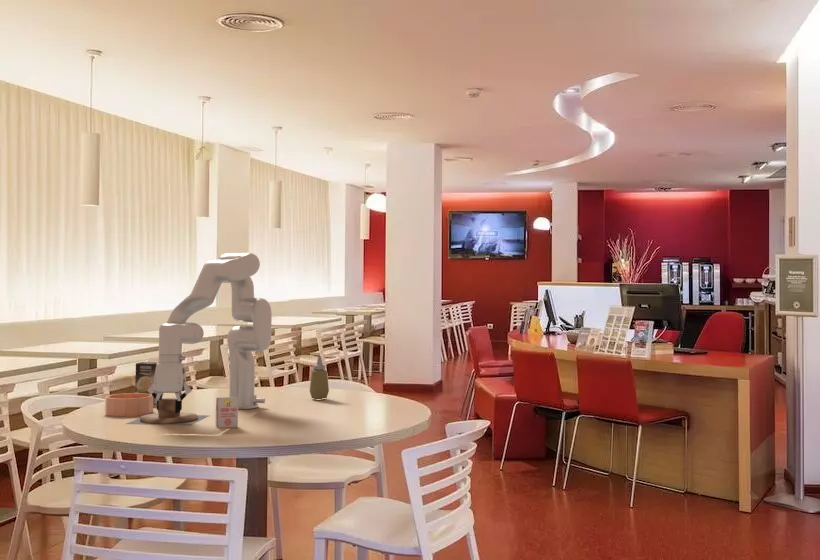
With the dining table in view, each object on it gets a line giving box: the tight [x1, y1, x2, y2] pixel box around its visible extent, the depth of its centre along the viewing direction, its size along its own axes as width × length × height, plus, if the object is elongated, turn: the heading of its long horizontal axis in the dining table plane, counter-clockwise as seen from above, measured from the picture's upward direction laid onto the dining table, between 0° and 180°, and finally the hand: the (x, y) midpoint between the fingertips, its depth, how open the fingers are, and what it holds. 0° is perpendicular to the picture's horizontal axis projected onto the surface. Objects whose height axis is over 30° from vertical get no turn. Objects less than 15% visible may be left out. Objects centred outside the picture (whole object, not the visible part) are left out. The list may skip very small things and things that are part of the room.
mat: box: [126, 414, 210, 426], centre depth 265 cm, size 22×20×1 cm
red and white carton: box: [215, 396, 239, 429], centre depth 254 cm, size 4×7×10 cm, turn 109°
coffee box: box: [134, 361, 158, 405], centre depth 308 cm, size 9×6×16 cm
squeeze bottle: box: [309, 356, 330, 399], centre depth 322 cm, size 8×8×18 cm
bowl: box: [104, 392, 154, 417], centre depth 280 cm, size 16×16×6 cm
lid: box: [139, 397, 198, 425], centre depth 265 cm, size 19×19×7 cm
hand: (169, 411), depth 265 cm, fingers closed on lid, 5 cm apart
